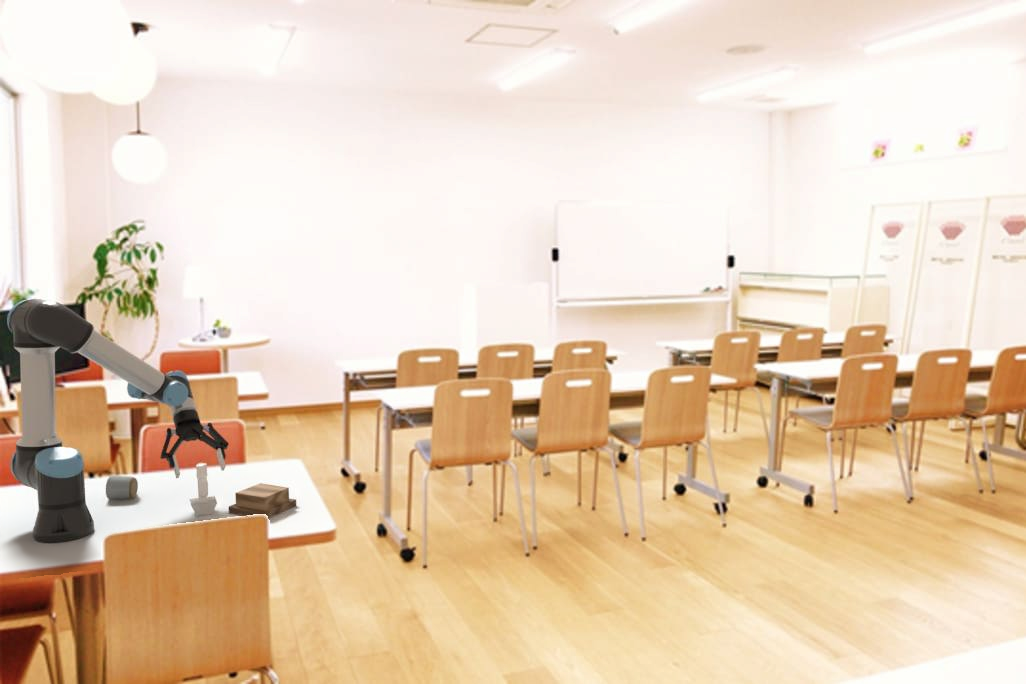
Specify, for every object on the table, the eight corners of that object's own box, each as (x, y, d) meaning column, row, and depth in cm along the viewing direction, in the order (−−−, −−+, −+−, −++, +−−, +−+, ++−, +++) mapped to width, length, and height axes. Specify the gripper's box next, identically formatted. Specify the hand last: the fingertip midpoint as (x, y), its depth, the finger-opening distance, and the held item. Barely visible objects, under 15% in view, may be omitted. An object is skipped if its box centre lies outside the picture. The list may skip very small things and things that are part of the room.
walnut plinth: (265, 519, 251) (264, 499, 251) (228, 513, 257) (228, 493, 256) (296, 505, 264) (295, 487, 263) (260, 499, 270) (260, 481, 269)
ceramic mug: (131, 501, 268) (130, 478, 267) (105, 502, 267) (104, 479, 266) (142, 492, 278) (141, 469, 277) (117, 492, 277) (116, 470, 276)
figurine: (192, 519, 252) (189, 469, 250) (189, 509, 260) (187, 461, 258) (218, 515, 255) (216, 466, 253) (214, 506, 263) (212, 459, 261)
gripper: (222, 416, 282) (239, 471, 272) (141, 426, 267) (156, 485, 257) (226, 403, 277) (244, 459, 267) (145, 413, 262) (160, 472, 252)
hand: (201, 472), depth 262 cm, fingers open, 13 cm apart
